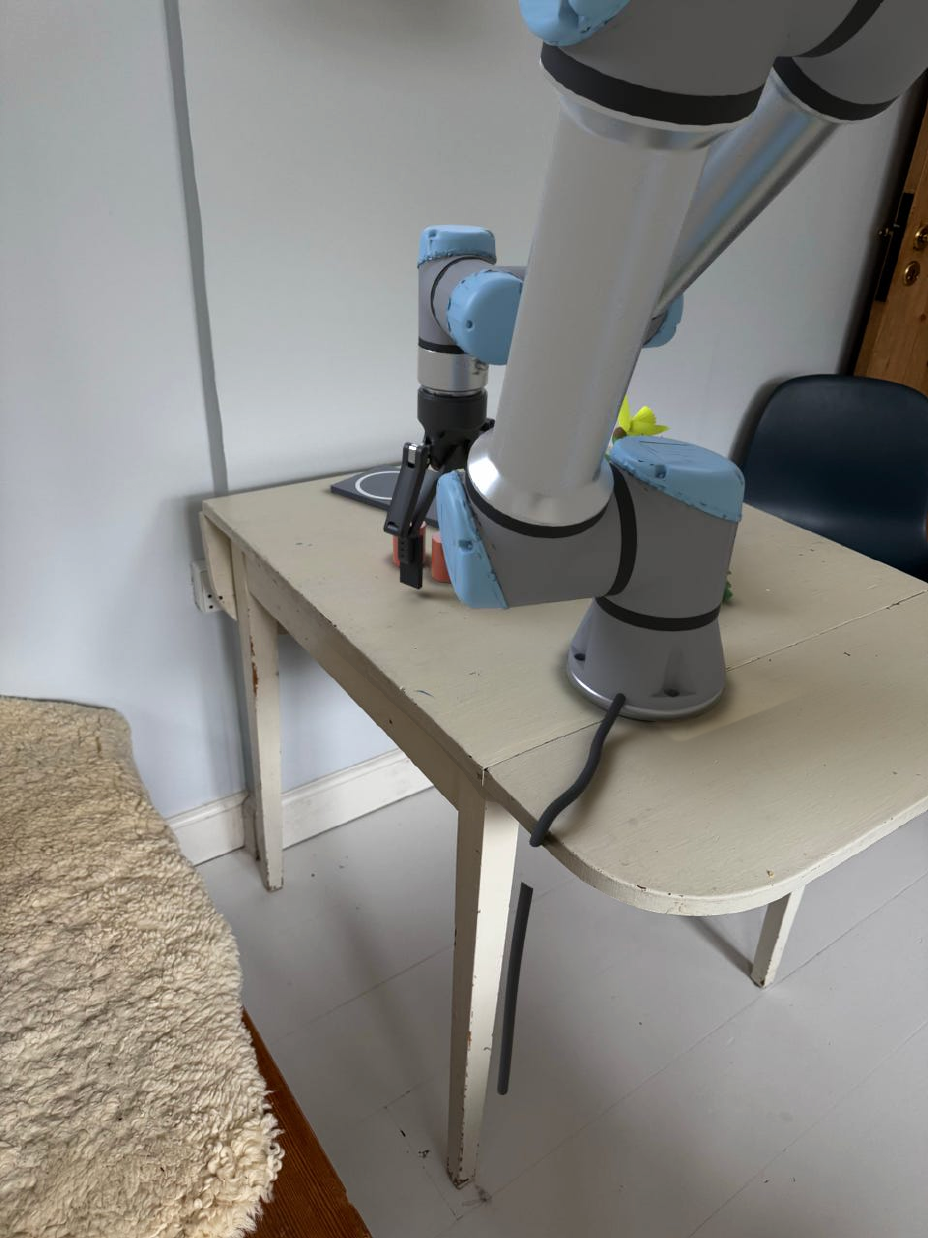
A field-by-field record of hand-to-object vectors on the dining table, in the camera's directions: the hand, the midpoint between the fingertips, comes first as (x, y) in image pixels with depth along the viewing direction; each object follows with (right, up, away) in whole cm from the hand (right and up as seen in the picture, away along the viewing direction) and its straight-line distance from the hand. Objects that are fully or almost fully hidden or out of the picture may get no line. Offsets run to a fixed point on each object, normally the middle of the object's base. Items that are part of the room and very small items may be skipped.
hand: (447, 563), depth 100 cm
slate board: (-4, +10, +20) cm, 23 cm away
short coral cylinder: (0, -1, 0) cm, 1 cm away
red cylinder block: (-5, +1, +3) cm, 6 cm away
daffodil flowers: (+25, +2, +7) cm, 26 cm away
